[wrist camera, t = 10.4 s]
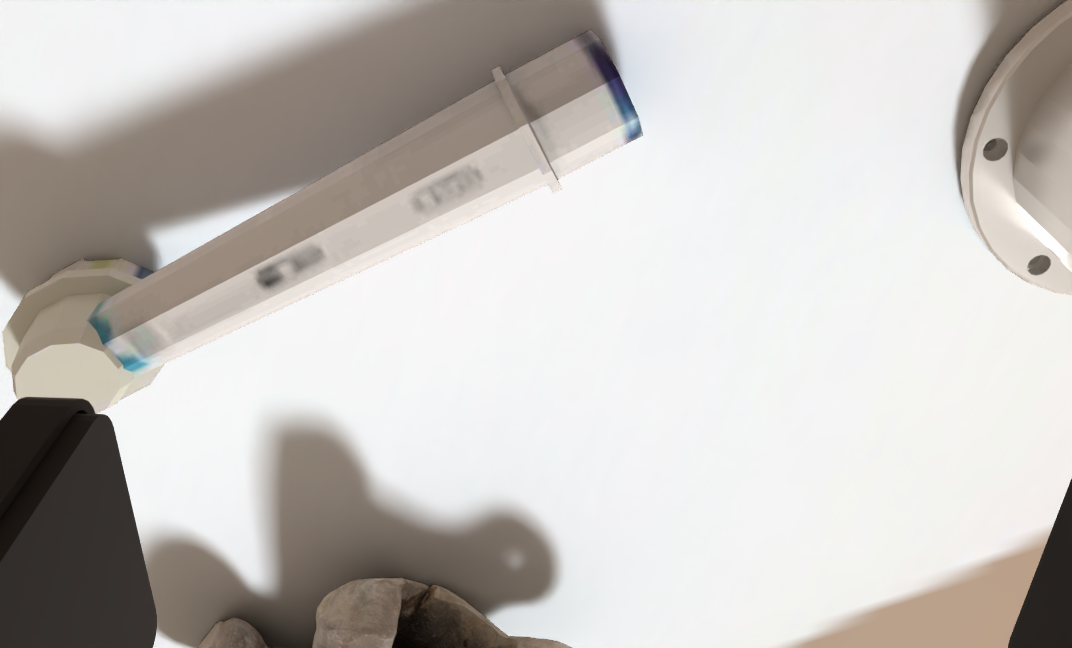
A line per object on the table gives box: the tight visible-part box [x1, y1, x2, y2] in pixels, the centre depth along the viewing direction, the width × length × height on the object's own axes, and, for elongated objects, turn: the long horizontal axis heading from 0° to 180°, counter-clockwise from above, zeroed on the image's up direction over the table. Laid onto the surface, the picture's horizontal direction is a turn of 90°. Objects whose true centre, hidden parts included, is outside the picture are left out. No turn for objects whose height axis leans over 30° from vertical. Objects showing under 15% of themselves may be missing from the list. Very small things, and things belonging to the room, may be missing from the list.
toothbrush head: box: [3, 29, 643, 414], centre depth 36 cm, size 5×7×25 cm
